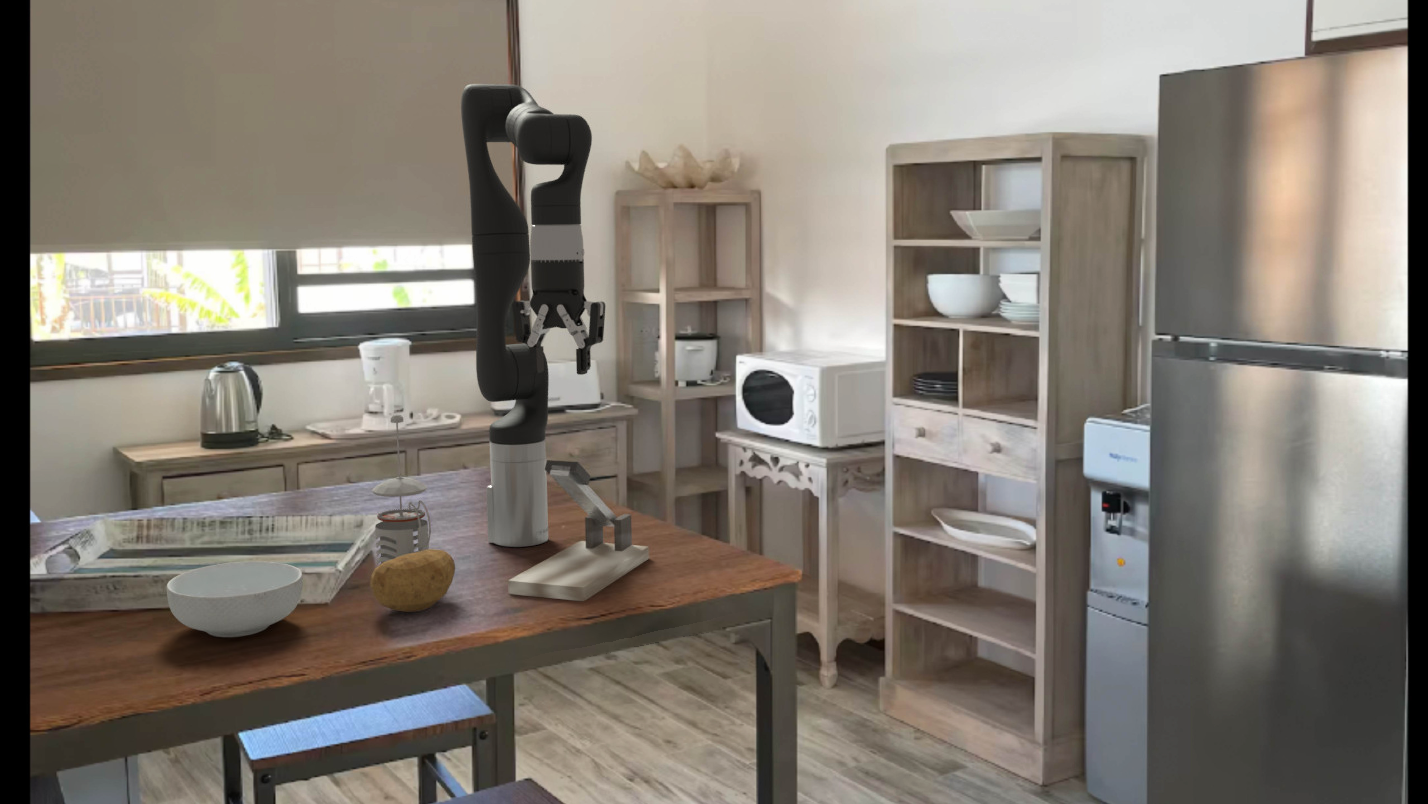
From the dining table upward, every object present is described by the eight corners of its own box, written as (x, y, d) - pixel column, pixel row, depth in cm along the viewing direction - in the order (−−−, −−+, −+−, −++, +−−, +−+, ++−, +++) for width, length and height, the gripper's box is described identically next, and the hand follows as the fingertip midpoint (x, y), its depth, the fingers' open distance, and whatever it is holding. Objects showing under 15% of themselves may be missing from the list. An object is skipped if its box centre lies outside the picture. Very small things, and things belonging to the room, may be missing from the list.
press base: (508, 593, 186) (507, 546, 185) (580, 552, 208) (579, 510, 207) (583, 601, 182) (582, 553, 181) (648, 558, 204) (648, 515, 203)
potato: (476, 599, 183) (474, 544, 182) (410, 627, 171) (408, 569, 170) (422, 590, 188) (420, 537, 187) (354, 617, 175) (352, 560, 174)
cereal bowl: (170, 656, 161) (166, 602, 160) (168, 619, 176) (165, 569, 175) (311, 637, 167) (308, 585, 166) (298, 603, 182) (295, 555, 181)
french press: (414, 564, 202) (407, 407, 199) (456, 578, 194) (449, 415, 191) (358, 576, 196) (350, 414, 192) (398, 591, 187) (391, 423, 184)
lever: (543, 474, 187) (547, 460, 188) (594, 526, 204) (597, 513, 205) (574, 476, 185) (578, 461, 186) (623, 529, 203) (626, 516, 204)
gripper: (499, 257, 182) (503, 374, 184) (591, 258, 177) (594, 378, 179) (524, 256, 189) (528, 368, 191) (614, 256, 184) (616, 371, 186)
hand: (560, 372), depth 185 cm, fingers open, 6 cm apart
